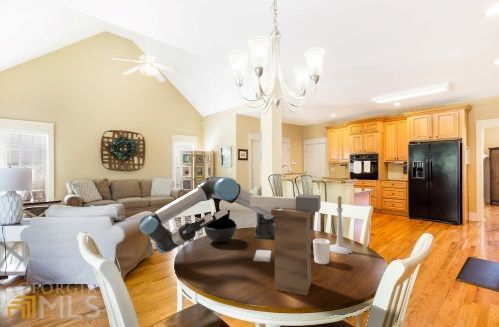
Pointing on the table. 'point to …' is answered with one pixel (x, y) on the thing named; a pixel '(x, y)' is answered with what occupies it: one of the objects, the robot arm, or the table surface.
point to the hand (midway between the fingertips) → (219, 213)
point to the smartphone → (262, 256)
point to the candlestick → (340, 235)
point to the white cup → (321, 251)
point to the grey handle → (289, 202)
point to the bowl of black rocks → (221, 228)
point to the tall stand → (292, 250)
